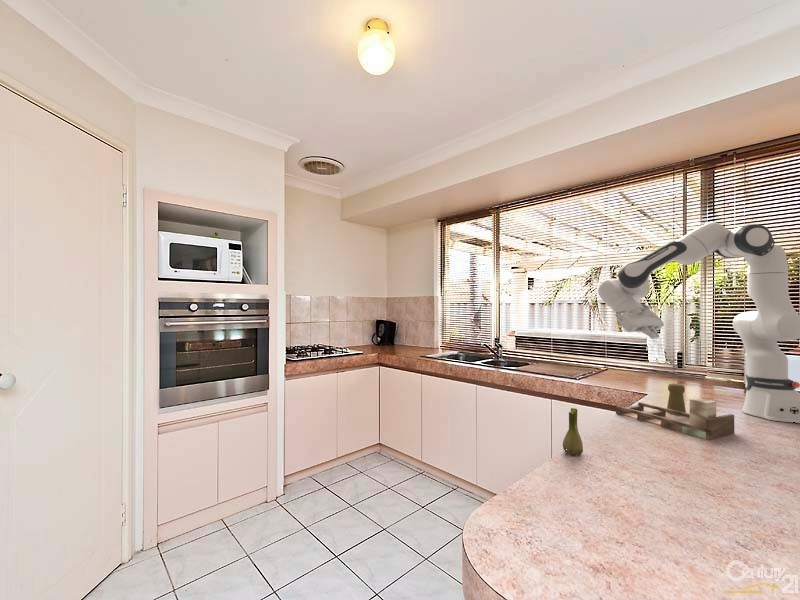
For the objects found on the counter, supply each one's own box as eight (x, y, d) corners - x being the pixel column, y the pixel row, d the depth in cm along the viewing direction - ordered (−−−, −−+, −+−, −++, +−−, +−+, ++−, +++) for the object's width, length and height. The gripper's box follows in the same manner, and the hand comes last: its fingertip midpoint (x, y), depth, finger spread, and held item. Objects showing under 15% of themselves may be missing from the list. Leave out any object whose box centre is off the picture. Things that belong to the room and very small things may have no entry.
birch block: (716, 426, 121) (716, 401, 121) (707, 428, 119) (707, 402, 119) (698, 422, 125) (698, 397, 125) (689, 424, 123) (689, 399, 123)
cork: (679, 411, 146) (679, 382, 147) (690, 415, 140) (690, 385, 140) (663, 410, 147) (663, 382, 147) (672, 415, 141) (672, 385, 141)
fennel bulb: (573, 458, 99) (573, 412, 99) (557, 452, 103) (557, 407, 103) (587, 455, 101) (587, 409, 102) (571, 448, 106) (572, 405, 106)
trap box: (734, 433, 120) (734, 414, 120) (709, 439, 114) (709, 419, 114) (639, 410, 147) (639, 394, 147) (615, 413, 141) (615, 397, 142)
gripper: (618, 306, 146) (644, 333, 137) (650, 305, 154) (677, 330, 145) (607, 317, 149) (632, 344, 140) (640, 316, 158) (665, 341, 149)
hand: (656, 337), depth 143 cm, fingers closed
